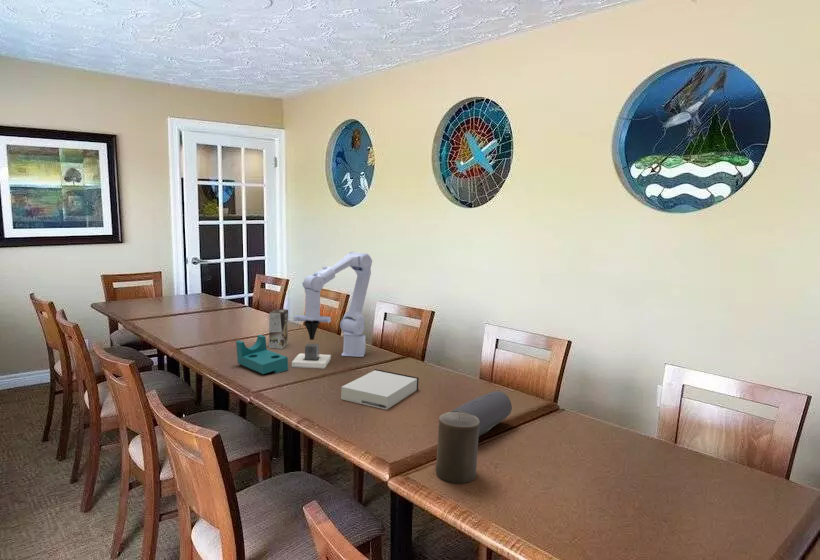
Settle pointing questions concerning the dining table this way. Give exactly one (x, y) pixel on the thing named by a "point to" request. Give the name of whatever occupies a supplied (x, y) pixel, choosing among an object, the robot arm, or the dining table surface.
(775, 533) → the dining table surface
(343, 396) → the disc drive
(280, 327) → the coffee box
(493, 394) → the bluetooth speaker
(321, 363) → the socket
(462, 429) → the pillar candle
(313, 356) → the plug
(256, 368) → the teal l-shaped bracket
